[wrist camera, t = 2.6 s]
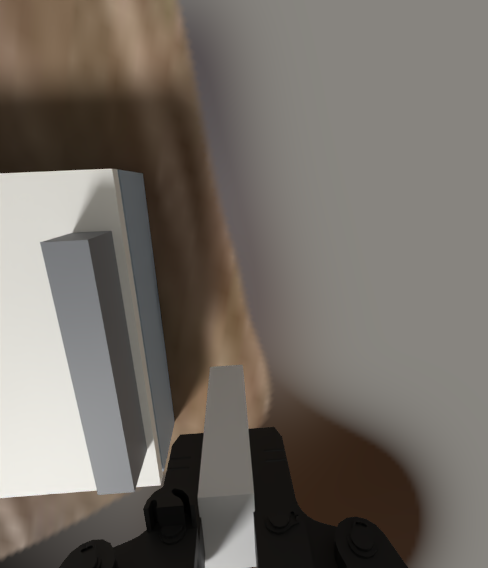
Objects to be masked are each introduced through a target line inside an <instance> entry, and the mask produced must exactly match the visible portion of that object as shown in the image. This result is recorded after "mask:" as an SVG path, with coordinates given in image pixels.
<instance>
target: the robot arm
mask: <svg viewBox="0 0 488 568" xmlns="http://www.w3.org/2000/svg"><path fill="white" fill-rule="evenodd" d="M143 510H144V516H145V521H146V527H147V530H146V531H145V532H144V533H142V534H141V535H140V536H138V537H136V538H134V539H132V540H130V541H128V542H126V543H123V544H121V545H118V546H116V547H114V548H113V547H112V546H111V544H110V543H108V542H106V541H104V540H91V541H89V542H86V543H84V544H82V545H80V546H79V547H78V548H76V549H75V550H74V551H72V552H71V553H70V554H69V556H68V557H67V558H66V559H65V560H64V562H63V563H62V564H61V566H60V567H59V568H247V567H257V568H408V567H407V566H406V564H405V563H404V562H403V560H402V558H401V557H400V556H399V554H398V553H397V551H396V550H395V548H394V547H393V546H392V544H391V543H390V541H389V540H388V538H387V537H386V536H385V534H384V533H383V532H382V531H381V530H380V529H379V528H378V527H377V526H376V525H375V524H373V523H372V522H370V521H368V520H367V519H363V518H359V517H350V518H346V519H344V520H343V521H341V522H340V523H339V524H338V527H335V526H331V525H327V524H324V523H320V522H318V521H315V520H313V519H311V518H310V517H308V516H307V515H306V514H305V513H304V512H303V511H302V510H301V509H300V507H299V506H298V504H297V501H296V498H295V494H294V489H293V485H292V480H291V476H290V472H289V467H288V462H287V458H286V453H285V449H284V445H283V440H282V436H281V435H280V434H279V433H278V431H277V430H276V429H275V428H274V427H270V428H269V427H268V428H254V429H248V419H247V408H246V396H245V385H244V374H243V365H233V366H218V367H210V374H209V384H208V394H207V405H206V415H205V426H204V433H198V434H185V435H180V436H179V437H178V438H177V440H176V441H175V443H174V444H173V445H172V449H171V454H170V460H169V463H168V467H167V472H166V477H165V481H164V486H163V487H162V488H161V489H159V490H157V491H156V492H154V493H153V494H152V495H151V497H150V498H149V499H148V500H147V502H146V504H145V506H144V509H143Z"/></svg>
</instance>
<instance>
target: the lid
mask: <svg viewBox="0 0 488 568" xmlns="http://www.w3.org/2000/svg"><path fill="white" fill-rule="evenodd" d="M162 477H163V472H162V465H161V458H160V452H159V445H158V438H157V432H156V425H155V418H154V412H153V405H152V398H151V392H150V385H149V378H148V372H147V365H146V358H145V351H144V345H143V338H142V331H141V325H140V318H139V311H138V305H137V298H136V291H135V285H134V278H133V271H132V265H131V258H130V251H129V244H128V238H127V231H126V224H125V218H124V211H123V204H122V198H121V191H120V184H119V178H118V171H117V169H92V170H69V171H46V172H22V173H0V498H7V497H20V496H32V495H45V494H57V493H69V492H82V491H94V490H97V493H98V495H102V494H115V493H127V492H135V489H136V487H144V486H156V485H161V482H162Z"/></svg>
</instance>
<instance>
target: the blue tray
mask: <svg viewBox="0 0 488 568" xmlns="http://www.w3.org/2000/svg"><path fill="white" fill-rule="evenodd" d="M117 171H118V178H119V184H120V191H121V198H122V204H123V211H124V218H125V224H126V231H127V238H128V244H129V251H130V258H131V265H132V271H133V278H134V285H135V291H136V298H137V305H138V311H139V318H140V325H141V331H142V338H143V345H144V351H145V358H146V365H147V372H148V378H149V385H150V392H151V398H152V405H153V412H154V418H155V425H156V432H157V438H158V445H159V452H160V458H161V465H162V471H164V468H165V463H166V459H167V454H168V450H169V445H170V441H171V436H172V431H173V427H174V422H175V421H174V413H173V405H172V397H171V389H170V382H169V374H168V366H167V358H166V350H165V343H164V335H163V327H162V319H161V311H160V304H159V296H158V288H157V280H156V272H155V265H154V257H153V249H152V241H151V233H150V226H149V218H148V210H147V202H146V194H145V187H144V179H143V173H137V172H130V171H124V170H117Z"/></svg>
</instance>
